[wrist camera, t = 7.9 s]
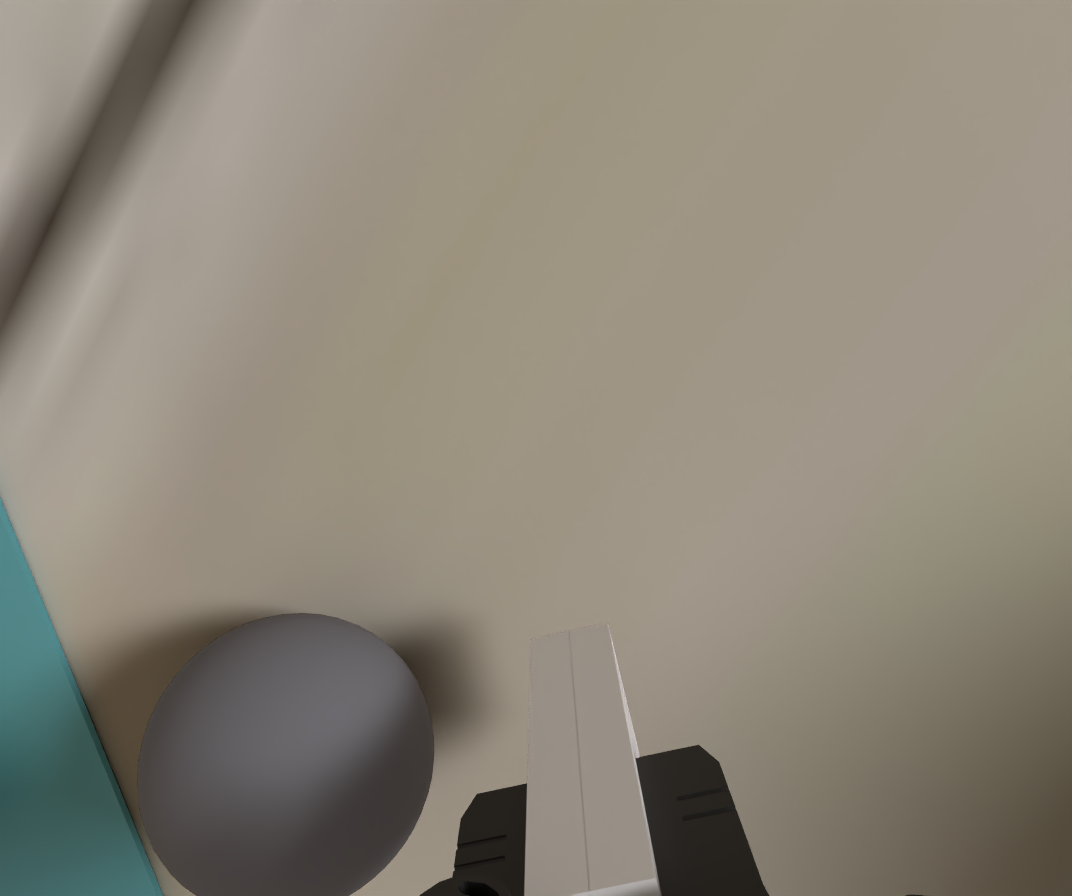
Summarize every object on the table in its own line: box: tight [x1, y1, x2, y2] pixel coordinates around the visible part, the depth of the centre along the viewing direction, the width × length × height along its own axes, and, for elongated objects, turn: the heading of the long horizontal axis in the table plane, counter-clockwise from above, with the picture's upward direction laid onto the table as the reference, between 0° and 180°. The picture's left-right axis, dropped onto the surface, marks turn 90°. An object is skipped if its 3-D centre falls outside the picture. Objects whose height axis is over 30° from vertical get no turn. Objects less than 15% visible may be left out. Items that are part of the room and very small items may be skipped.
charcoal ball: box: [137, 613, 434, 896], centre depth 16 cm, size 6×6×6 cm
